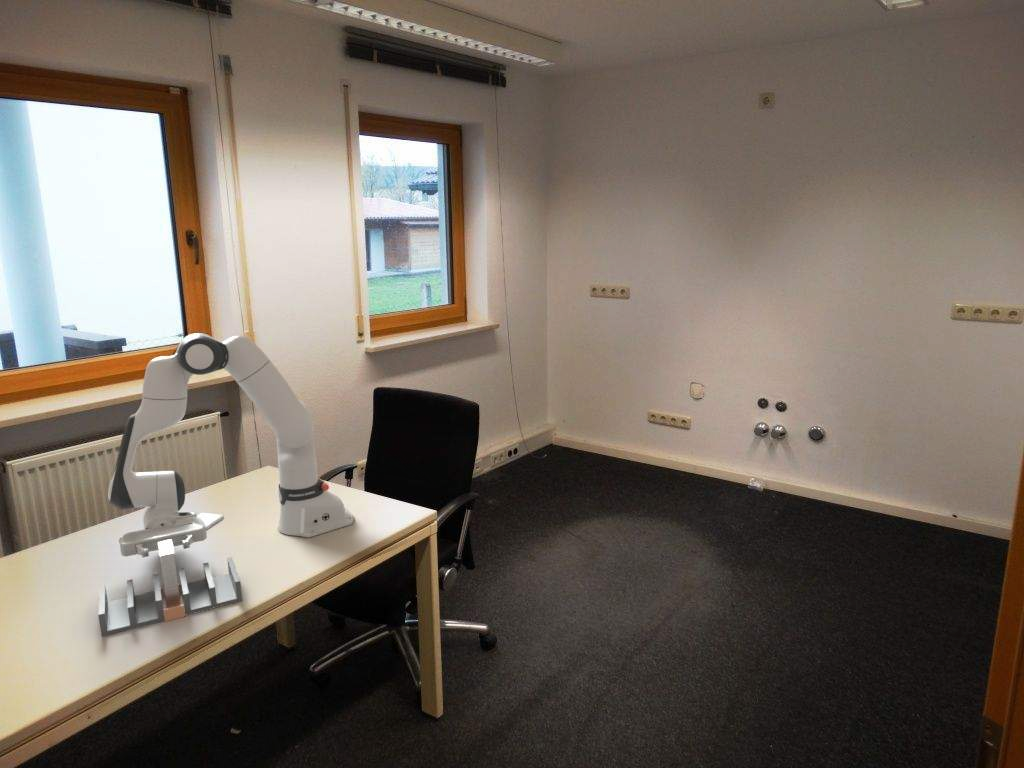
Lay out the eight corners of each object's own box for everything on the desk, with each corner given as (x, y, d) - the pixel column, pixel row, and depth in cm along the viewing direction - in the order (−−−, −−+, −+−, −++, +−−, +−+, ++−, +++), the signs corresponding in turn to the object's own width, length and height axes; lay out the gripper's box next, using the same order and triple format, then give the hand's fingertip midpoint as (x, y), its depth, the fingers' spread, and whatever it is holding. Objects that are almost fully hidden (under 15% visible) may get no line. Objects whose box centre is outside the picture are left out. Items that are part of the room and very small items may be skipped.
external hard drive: (224, 519, 216) (198, 536, 205) (201, 517, 218) (174, 534, 206) (223, 514, 216) (197, 531, 204) (201, 512, 218) (174, 529, 206)
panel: (177, 590, 172) (171, 539, 169) (180, 605, 165) (173, 552, 162) (164, 593, 171) (157, 542, 167) (166, 608, 164) (159, 555, 160)
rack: (234, 575, 181) (232, 557, 180) (242, 602, 169) (240, 582, 168) (102, 606, 167) (99, 586, 166) (101, 637, 154) (98, 616, 153)
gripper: (117, 526, 179) (117, 548, 167) (201, 510, 189) (207, 529, 177) (120, 548, 181) (121, 571, 169) (204, 531, 191) (210, 552, 179)
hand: (166, 550), depth 173 cm, fingers open, 8 cm apart
